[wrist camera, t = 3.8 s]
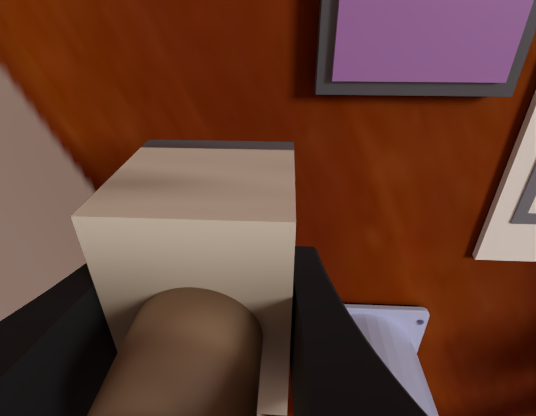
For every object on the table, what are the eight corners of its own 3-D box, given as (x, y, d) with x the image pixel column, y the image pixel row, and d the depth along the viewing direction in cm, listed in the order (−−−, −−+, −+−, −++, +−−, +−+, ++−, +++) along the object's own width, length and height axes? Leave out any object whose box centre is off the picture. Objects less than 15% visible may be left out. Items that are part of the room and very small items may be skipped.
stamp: (287, 301, 12) (286, 537, 7) (178, 297, 13) (92, 523, 7) (293, 142, 9) (299, 338, 4) (148, 139, 10) (-41, 323, 4)
